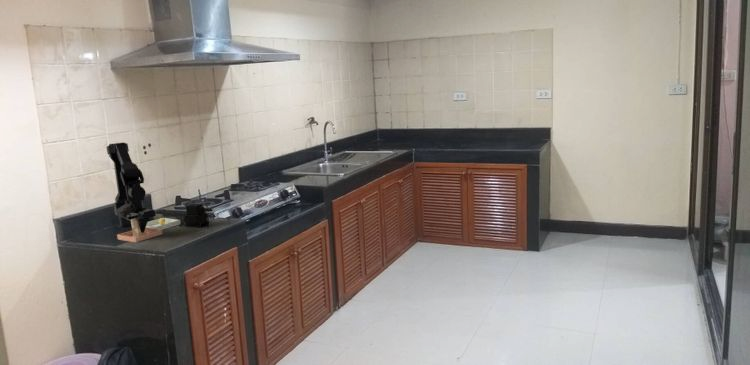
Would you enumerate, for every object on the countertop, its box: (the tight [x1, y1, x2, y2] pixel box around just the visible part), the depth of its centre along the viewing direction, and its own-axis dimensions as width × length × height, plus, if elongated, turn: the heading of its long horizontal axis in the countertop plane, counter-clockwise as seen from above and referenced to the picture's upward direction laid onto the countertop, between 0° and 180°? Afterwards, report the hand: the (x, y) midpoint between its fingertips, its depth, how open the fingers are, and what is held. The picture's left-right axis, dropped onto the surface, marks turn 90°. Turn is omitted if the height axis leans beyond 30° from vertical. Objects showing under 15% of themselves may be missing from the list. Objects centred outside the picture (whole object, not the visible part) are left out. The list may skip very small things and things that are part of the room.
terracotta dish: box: [116, 228, 163, 243], centre depth 257 cm, size 13×13×2 cm
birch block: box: [131, 217, 147, 237], centre depth 257 cm, size 4×4×8 cm
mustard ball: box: [158, 217, 166, 225], centre depth 277 cm, size 3×3×3 cm
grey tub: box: [146, 217, 181, 231], centre depth 273 cm, size 13×13×2 cm
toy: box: [182, 203, 213, 229], centre depth 268 cm, size 8×14×10 cm, turn 66°
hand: (139, 232), depth 257 cm, fingers closed on birch block, 4 cm apart
